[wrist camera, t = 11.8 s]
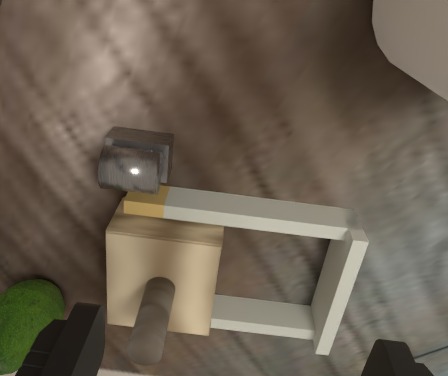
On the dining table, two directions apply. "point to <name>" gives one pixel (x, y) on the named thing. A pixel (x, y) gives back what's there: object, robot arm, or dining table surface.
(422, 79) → the white plastic bottle
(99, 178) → the drum
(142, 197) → the frame
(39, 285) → the avocado
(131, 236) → the box with grey peg
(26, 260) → the dining table surface
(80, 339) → the robot arm
